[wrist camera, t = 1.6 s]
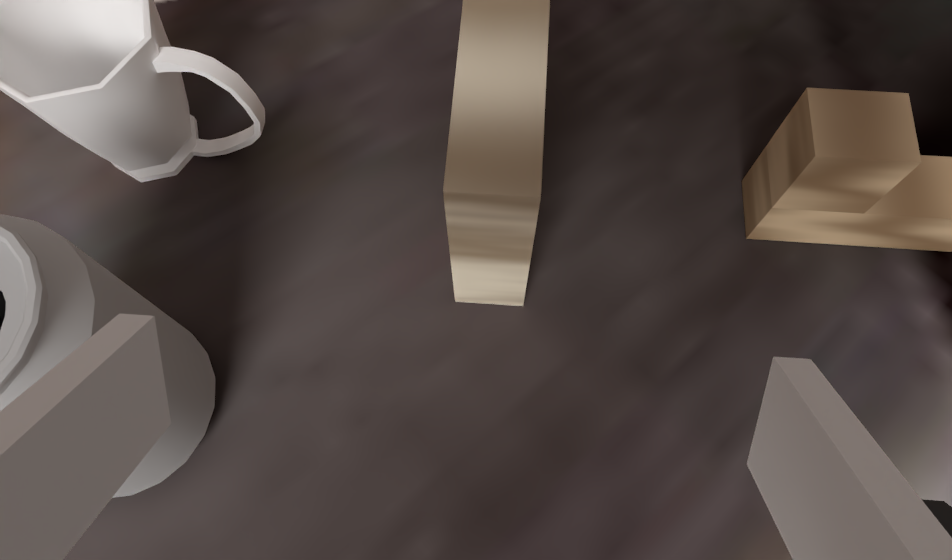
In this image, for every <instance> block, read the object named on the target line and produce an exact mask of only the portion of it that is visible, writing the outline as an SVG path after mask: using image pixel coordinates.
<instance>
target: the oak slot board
mask: <svg viewBox="0 0 952 560" xmlns="http://www.w3.org/2000/svg"><path fill="white" fill-rule="evenodd" d="M742 192H743V205H744V218H745V231H746V239H759V240H775V241H790V242H806V243H822V244H837V245H853V246H869V247H885V248H900V249H916V250H932V251H948V252H952V157H944V156H927V155H920V152H919V146H918V141H917V136H916V130H915V125H914V120H913V115H912V109H911V104H910V99H909V93H895V92H877V91H859V90H841V89H823V88H806V90H805V91H804V92H803V94H802V95H801V97H800V98H799V100H798V101H797V103H796V104H795V105H794V107H793V108H792V110H791V111H790V113H789V114H788V115H787V117H786V118H785V120H784V121H783V123H782V124H781V125H780V127H779V128H778V130H777V131H776V133H775V134H774V135H773V137H772V138H771V140H770V141H769V143H768V144H767V146H766V147H765V148H764V150H763V151H762V153H761V154H760V156H759V157H758V158H757V160H756V161H755V163H754V164H753V166H752V167H751V168H750V170H749V171H748V173H747V174H746V176H745V177H744V179H743V180H742Z"/></svg>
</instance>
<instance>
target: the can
mask: <svg viewBox="0 0 952 560" xmlns="http://www.w3.org/2000/svg"><path fill="white" fill-rule="evenodd" d="M118 314H135V315H150V316H155V323H156V329H157V336H158V342H159V348H160V355H161V361H162V368H163V374H164V380H165V387H166V393H167V400H168V406H169V413H170V419H171V424H170V425H169V427H168V428H167V429H166V430H165V432H164V433H163V434H162V435H161V437H160V438H159V439H158V440H157V442H156V443H155V444H154V445H153V447H152V448H151V449H150V450H149V452H148V453H147V454H146V456H145V457H144V458H143V459H142V461H141V462H140V463H139V464H138V466H137V467H136V468H135V469H134V471H133V472H132V473H131V474H130V476H129V477H128V478H127V479H126V481H125V482H124V483H123V485H122V486H121V487H120V488H119V490H118V491H117V492H116V493H115V495H114V496H113V497H112V498H114V497H123V496H131V495H133V494H136V493H138V492H140V491H143V490H145V489H147V488H149V487H152V486H154V485H156V484H159V483H161V482H162V481H163V480H164V479H166V478H167V477H168V476H169V475H171V474H172V473H173V472H174V471H175V470H177V469H178V468H179V467H180V466H181V465H183V464H184V463H185V462H186V461H187V460H188V458H189V457H190V455H191V454H192V453H193V451H194V450H195V448H196V447H197V446H198V444H199V443H200V441H201V440H202V438H203V437H204V436H205V433H206V430H207V427H208V424H209V421H210V419H211V416H212V413H213V410H214V407H215V375H214V372H213V369H212V366H211V363H210V359H209V356H208V353H207V352H206V351H205V349H204V348H203V347H202V346H201V344H200V343H199V342H198V340H197V339H196V338H195V337H194V335H193V334H192V333H191V332H189V331H188V330H187V329H185V328H184V327H183V326H181V325H180V324H179V323H177V322H176V321H175V320H173V319H172V318H171V317H169V316H168V315H167V314H165V313H164V312H163V311H161V310H160V309H159V308H157V307H156V306H155V305H153V304H152V303H151V302H149V301H148V300H147V299H145V298H144V297H143V296H141V295H140V294H139V293H137V292H136V291H135V290H133V289H132V288H131V287H129V286H128V285H127V284H125V283H124V282H123V281H121V280H120V279H119V278H117V277H116V276H115V275H113V274H112V273H111V272H109V271H108V270H107V269H105V268H104V267H103V266H101V265H100V264H99V263H98V262H96V261H95V260H94V259H92V258H91V257H90V256H88V255H87V254H86V253H84V252H83V251H82V250H80V249H79V248H78V247H76V246H75V245H74V244H72V243H71V242H70V241H68V240H67V239H66V238H64V237H62V236H60V235H59V234H57V233H55V232H54V231H52V230H50V229H49V228H47V227H45V226H44V225H42V224H40V223H38V222H37V221H33V220H28V219H23V218H18V217H12V216H7V215H2V214H0V411H1V410H2V409H4V408H5V407H6V406H7V405H9V404H10V403H11V402H12V401H13V400H15V399H16V398H17V397H18V396H20V395H21V394H22V393H23V392H24V391H26V390H27V389H28V388H29V387H30V386H32V385H33V384H34V383H35V382H37V381H38V380H39V379H40V378H41V377H43V376H44V375H45V374H46V373H48V372H49V371H50V370H51V369H52V368H54V367H55V366H56V365H57V364H59V363H60V362H61V361H62V360H63V359H65V358H66V357H67V356H68V355H69V354H71V353H72V352H73V351H74V350H76V349H77V348H78V347H79V346H80V345H82V344H83V343H84V342H85V341H87V340H88V339H89V338H90V337H91V336H93V335H94V334H95V333H96V332H97V331H99V330H100V329H101V328H102V327H104V326H105V325H106V324H107V323H108V322H110V321H111V320H112V319H113V318H115V317H116V316H117V315H118Z"/></svg>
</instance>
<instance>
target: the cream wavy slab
mask: <svg viewBox="0 0 952 560" xmlns="http://www.w3.org/2000/svg"><path fill="white" fill-rule="evenodd" d="M549 10H550V0H463V7H462V17H461V26H460V35H459V45H458V54H457V64H456V73H455V83H454V92H453V102H452V111H451V120H450V130H449V139H448V149H447V158H446V168H445V177H444V187H443V196H444V205H445V214H446V223H447V232H448V241H449V250H450V259H451V268H452V277H453V286H454V295H455V302H470V303H485V304H499V305H514V306H523V304H524V298H525V292H526V285H527V279H528V273H529V267H530V261H531V255H532V249H533V242H534V236H535V230H536V224H537V218H538V212H539V206H540V199H541V183H542V161H543V140H544V118H545V96H546V75H547V53H548V31H549Z"/></svg>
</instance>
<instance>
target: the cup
mask: <svg viewBox="0 0 952 560" xmlns="http://www.w3.org/2000/svg"><path fill="white" fill-rule="evenodd" d="M181 72H193V73H196V74H198V75H201V76H204V77H206V78H208V79H209V80H211V81H212V82H214V83H216V84H217V85H219V86H220V87H222V88H223V89H225V90H227V91H228V92H230V93H231V94H232V96H233V97H234V98H235V99H236V100H237V101H238V102H239V103H240V104H241V105H242V106H243V107H244V109H245V110H246V112H247V113H248V114H249V116H250V117H251V119H252V120H253V122H254V124H253V125H252V126H251V127H249V128H247V129H245V130H243V131H241V132H238V133H236V134H233V135H231V136H228V137H225V138H219V139H213V140H204V139H199V137H198V127H197V120H196V119H195V117H194V116H192V115H190V112H189V104H188V99H187V95H186V91H185V87H184V82H183V78H182V74H181ZM0 90H1V91H2V92H4V93H5V94H7V95H8V96H10V97H11V98H13V99H14V100H16V101H17V102H19V103H20V104H22V105H23V106H25V107H26V108H27V109H29V110H30V111H32V112H33V113H34V114H36V115H37V116H39V117H40V118H41V119H43V120H44V121H46V122H47V123H49V124H50V125H51V126H53V127H54V128H56V129H57V130H58V131H60V132H61V133H63V134H64V135H66V136H67V137H69V138H71V139H72V140H74V141H76V142H77V143H79V144H81V145H82V146H84V147H86V148H87V149H89V150H91V151H92V152H94V153H96V154H97V155H99V156H101V157H102V158H104V159H106V160H108V161H110V162H111V163H112V164H113V165H114V166H115V167H117V168H118V169H120V170H122V171H123V172H125V173H126V174H128V175H130V176H131V177H133V178H135V179H136V180H138V181H140V182H146V181H151V180H156V179H161V178H165V177H170V176H175V175H177V174H178V173H179V172H180V171H181V170H182V169H183V168H184V167H185V165H186V164H187V163H188V162H189V161H190V160H191V159H192V157H193V156H194V155H196V156H204V157H211V156H218V155H224V154H228V153H231V152H234V151H237V150H239V149H242V148H244V147H247V146H249V145H251V144H253V143H254V142H255V141H256V140H257V139H258V138H259V137H260V136H261V134H262V131H263V127H264V124H265V108H264V107H263V105H262V103H261V102H260V100H259V98H258V97H257V95H256V94H255V92H254V91H253V90H252V89H251V88H250V87H249V86H248V85H247V83H246V82H245V81H244V80H243V79H242V78H241V77H240V76H239V74H237V73H236V72H234V71H233V70H231V69H230V68H228V67H227V66H225V65H224V64H222V63H221V62H219V61H218V60H216V59H215V58H213V57H210V56H207V55H204V54H202V53H199V52H196V51H192V50H187V49H181V48H176V47H171V45H170V43H169V40H168V38H167V35H166V33H165V30H164V27H163V24H162V22H161V19H160V16H159V13H158V11H157V8H156V5H155V3H154V0H0Z"/></svg>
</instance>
